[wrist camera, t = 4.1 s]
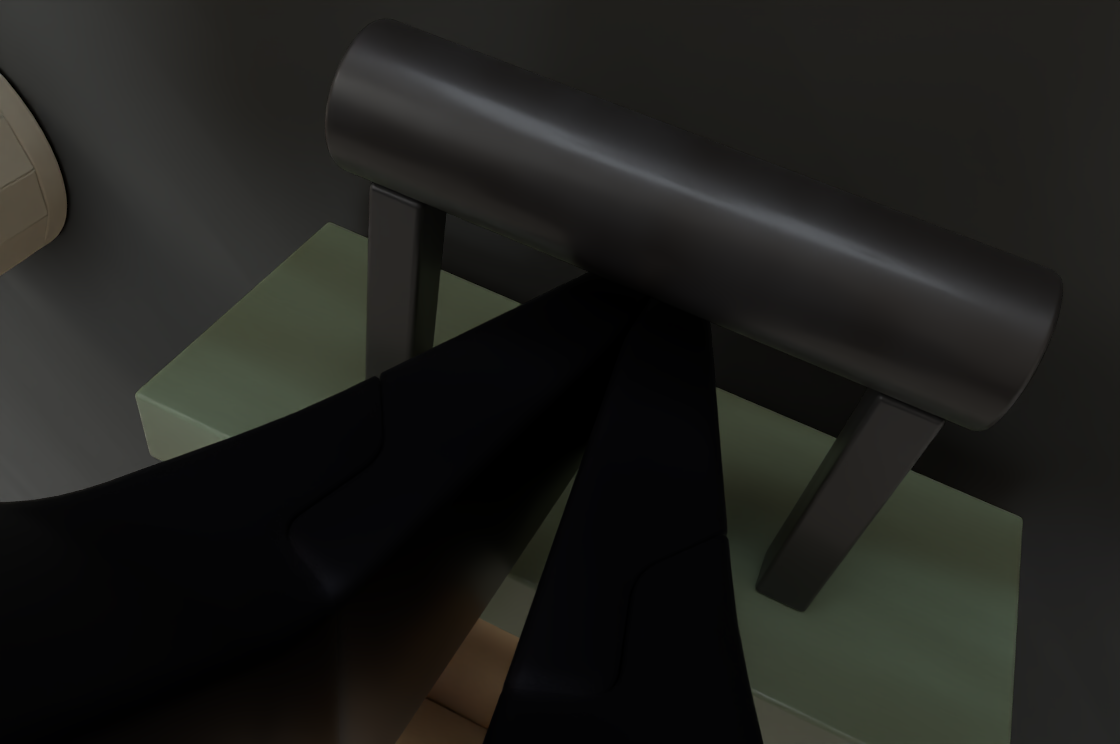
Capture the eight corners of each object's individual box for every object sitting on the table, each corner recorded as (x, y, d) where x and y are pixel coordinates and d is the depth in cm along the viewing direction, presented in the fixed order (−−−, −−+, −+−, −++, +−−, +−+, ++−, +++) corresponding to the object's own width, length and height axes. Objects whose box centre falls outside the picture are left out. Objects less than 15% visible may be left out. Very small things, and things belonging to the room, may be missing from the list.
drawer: (321, -127, 10) (28, -4, 7) (1306, 222, 8) (1425, 560, 5) (336, 620, 22) (230, 772, 19) (732, 822, 20) (678, 1020, 17)
